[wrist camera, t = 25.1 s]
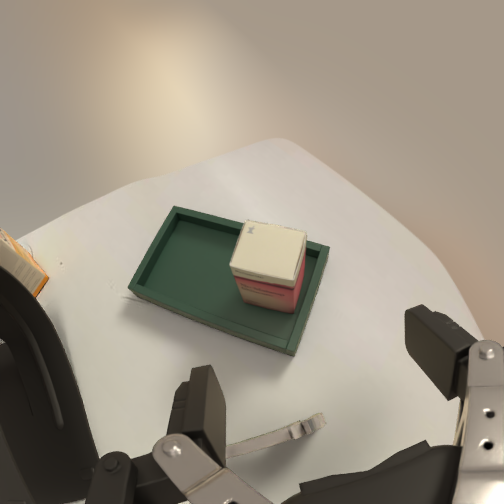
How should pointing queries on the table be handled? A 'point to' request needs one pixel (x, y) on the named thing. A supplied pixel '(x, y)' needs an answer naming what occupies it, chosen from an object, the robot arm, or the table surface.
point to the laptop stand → (39, 408)
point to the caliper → (277, 436)
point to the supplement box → (21, 264)
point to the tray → (219, 280)
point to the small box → (269, 265)
